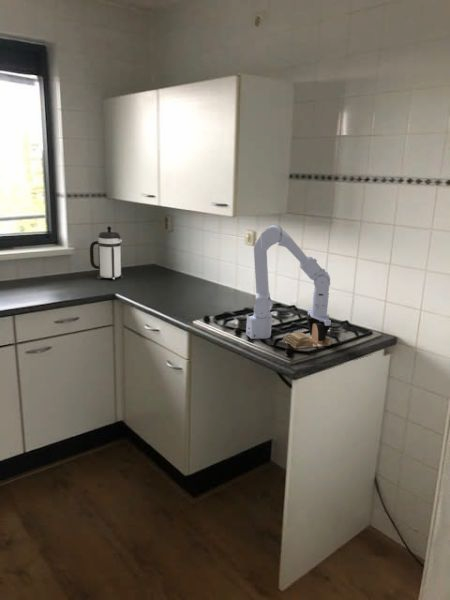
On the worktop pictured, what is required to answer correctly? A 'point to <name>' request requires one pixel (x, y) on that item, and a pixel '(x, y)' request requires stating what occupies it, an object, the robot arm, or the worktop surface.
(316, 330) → the salmon pink block
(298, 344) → the offcut
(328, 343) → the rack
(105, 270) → the coffee press
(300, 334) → the offcut
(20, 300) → the worktop surface
